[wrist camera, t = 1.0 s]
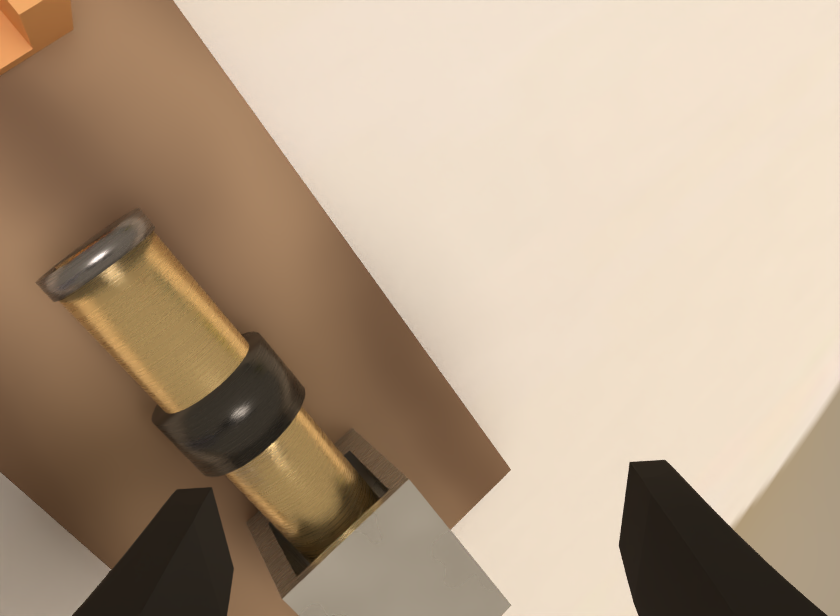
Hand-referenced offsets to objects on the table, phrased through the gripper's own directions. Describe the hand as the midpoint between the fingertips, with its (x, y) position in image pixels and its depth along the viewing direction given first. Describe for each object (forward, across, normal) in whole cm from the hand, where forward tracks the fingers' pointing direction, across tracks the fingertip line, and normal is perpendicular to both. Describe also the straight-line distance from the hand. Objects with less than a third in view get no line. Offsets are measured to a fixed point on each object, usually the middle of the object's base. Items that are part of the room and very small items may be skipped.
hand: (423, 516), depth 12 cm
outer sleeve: (+9, +3, +10) cm, 13 cm away
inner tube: (+8, +5, +5) cm, 11 cm away
